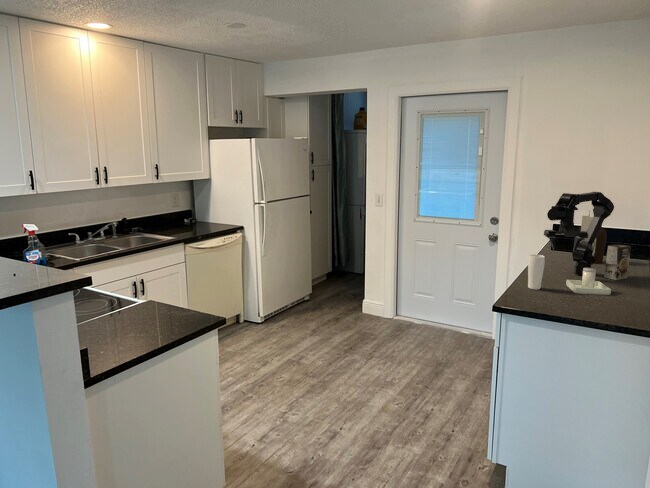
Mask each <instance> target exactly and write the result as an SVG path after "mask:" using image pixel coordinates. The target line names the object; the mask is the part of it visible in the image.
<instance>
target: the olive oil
mask: <svg viewBox="0 0 650 488" xmlns="http://www.w3.org/2000/svg"><path fill="white" fill-rule="evenodd" d="M607 235H608V233H607V231H606V230H605V228H604V227H603V225H602V226H601V228H600V230H599V232H598V234H597V236H596V238H595V240H594V242H593V245H592V248H593V253H592V255H593V257H594V258H595V263H594V264H596V265H600V264H599V263H601V264H603V260H604V254H605V248H606V242H607V238H608V237H607Z"/></svg>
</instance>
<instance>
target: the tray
mask: <svg viewBox="0 0 650 488" xmlns="http://www.w3.org/2000/svg"><path fill="white" fill-rule="evenodd" d="M565 283H566V284H565V285H566V286H567V287H568V288H569V289H570V290H572V292H573V293H575V294H582V295H597V296H598V295H601V296H611V293H612V289H611V288H610V287H608V286H607V285H605V284H604V283H602V282H601V281H599V280H595V284H594V288H581V286H582V280H578V279H577V280H576V279H566V282H565Z"/></svg>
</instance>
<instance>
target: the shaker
mask: <svg viewBox="0 0 650 488" xmlns="http://www.w3.org/2000/svg"><path fill="white" fill-rule="evenodd" d="M596 273H597V269H596V268H593V267H591V268H583V276H581V277H582V278H581V279H582V286H581V288H594V284H595V281H596V275H597V274H596Z"/></svg>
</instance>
